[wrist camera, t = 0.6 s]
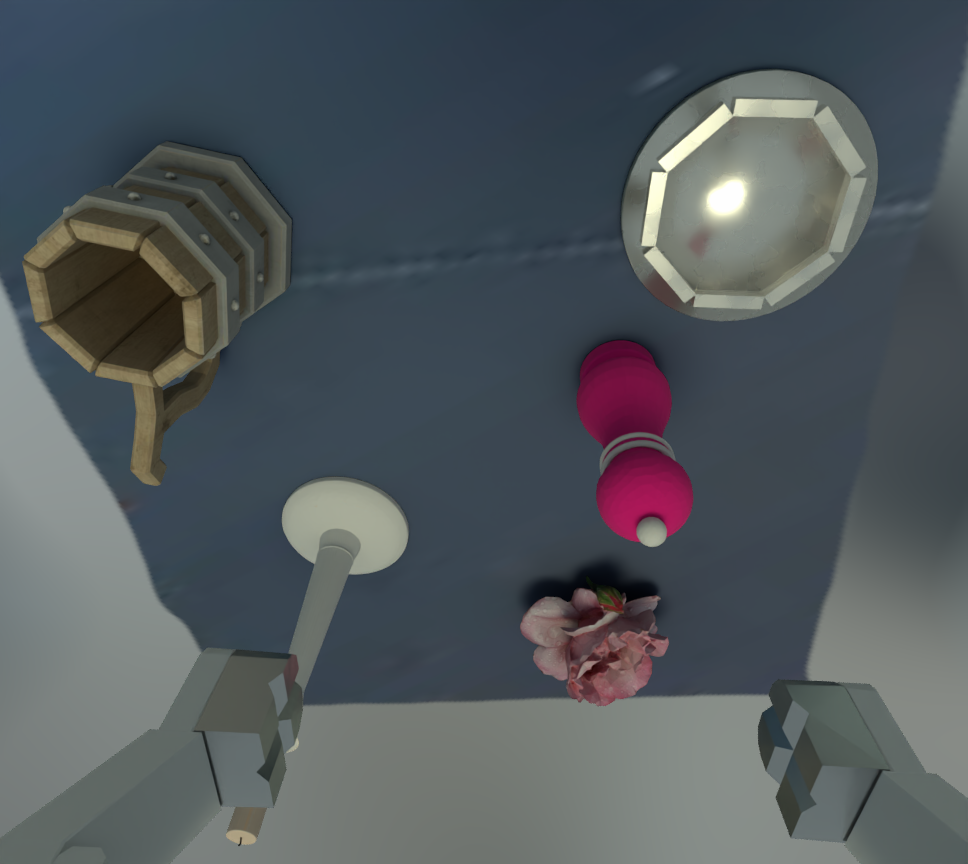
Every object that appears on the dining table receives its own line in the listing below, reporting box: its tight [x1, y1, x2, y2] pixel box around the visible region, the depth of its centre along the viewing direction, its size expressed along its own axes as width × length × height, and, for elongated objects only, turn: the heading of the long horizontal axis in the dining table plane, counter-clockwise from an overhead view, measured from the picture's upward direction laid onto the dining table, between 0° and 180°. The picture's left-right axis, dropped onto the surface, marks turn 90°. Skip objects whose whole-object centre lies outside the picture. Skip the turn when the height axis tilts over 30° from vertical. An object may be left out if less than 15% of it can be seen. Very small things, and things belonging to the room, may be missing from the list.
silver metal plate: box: [620, 69, 878, 321], centre depth 46 cm, size 17×17×2 cm
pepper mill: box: [577, 340, 693, 547], centre depth 47 cm, size 7×7×20 cm
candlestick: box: [226, 477, 409, 846], centre depth 54 cm, size 13×13×30 cm
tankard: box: [22, 141, 292, 486], centre depth 46 cm, size 20×13×15 cm, turn 169°
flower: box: [520, 576, 669, 706], centre depth 68 cm, size 15×15×10 cm
